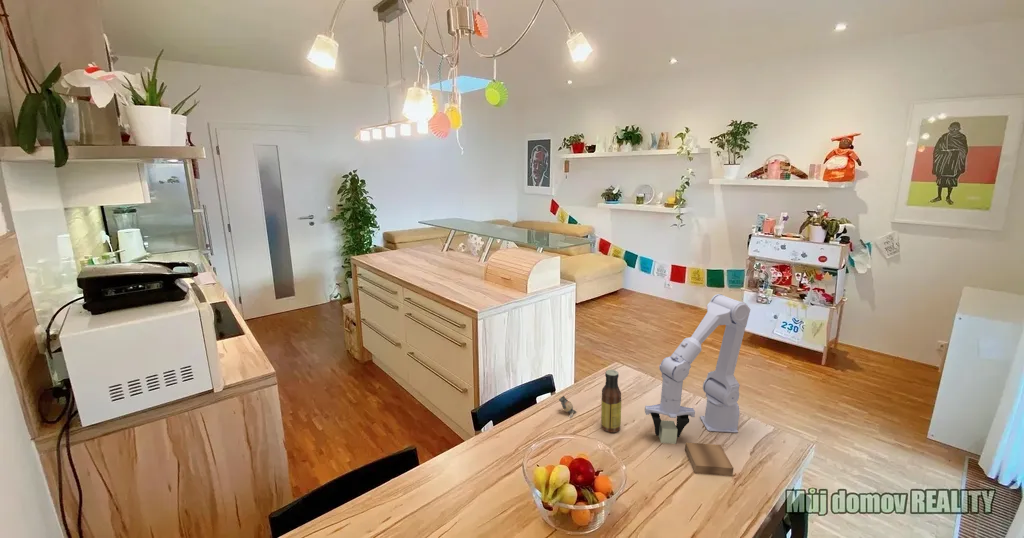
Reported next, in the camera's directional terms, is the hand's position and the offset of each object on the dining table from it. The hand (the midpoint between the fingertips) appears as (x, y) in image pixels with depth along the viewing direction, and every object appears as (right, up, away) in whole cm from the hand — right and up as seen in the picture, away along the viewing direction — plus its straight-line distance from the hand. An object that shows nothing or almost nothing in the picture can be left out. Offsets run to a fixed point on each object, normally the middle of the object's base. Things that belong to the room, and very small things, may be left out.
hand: (667, 434), depth 134 cm
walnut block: (+8, -5, -10) cm, 14 cm away
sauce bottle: (-16, 0, +6) cm, 18 cm away
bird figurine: (-30, +2, +14) cm, 33 cm away
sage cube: (0, -1, 0) cm, 2 cm away
